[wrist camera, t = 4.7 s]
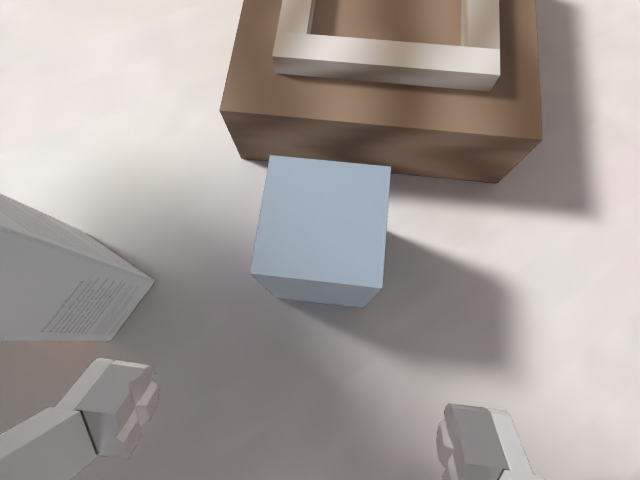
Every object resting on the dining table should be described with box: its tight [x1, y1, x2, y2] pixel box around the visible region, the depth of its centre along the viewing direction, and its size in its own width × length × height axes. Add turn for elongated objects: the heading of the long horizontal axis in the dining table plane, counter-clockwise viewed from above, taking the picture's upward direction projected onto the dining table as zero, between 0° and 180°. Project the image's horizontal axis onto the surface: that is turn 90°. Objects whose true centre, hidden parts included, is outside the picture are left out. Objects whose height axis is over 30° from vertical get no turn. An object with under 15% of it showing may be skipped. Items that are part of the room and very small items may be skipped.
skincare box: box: [0, 194, 154, 342], centre depth 16 cm, size 6×4×12 cm
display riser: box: [220, 0, 542, 183], centre depth 23 cm, size 16×16×6 cm
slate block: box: [250, 155, 391, 308], centre depth 18 cm, size 5×5×8 cm
